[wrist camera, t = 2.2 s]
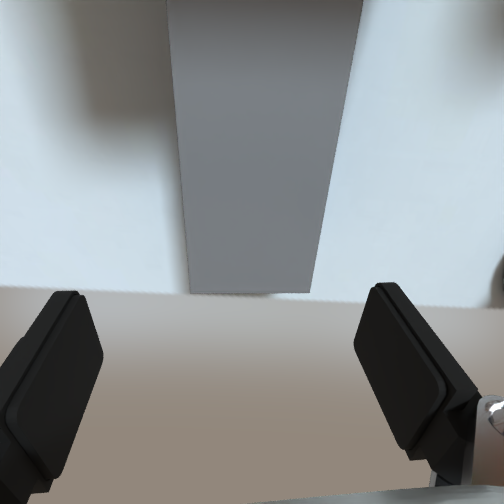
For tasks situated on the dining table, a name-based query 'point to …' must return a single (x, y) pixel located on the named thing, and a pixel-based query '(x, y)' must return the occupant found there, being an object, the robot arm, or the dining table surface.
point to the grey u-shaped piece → (257, 134)
